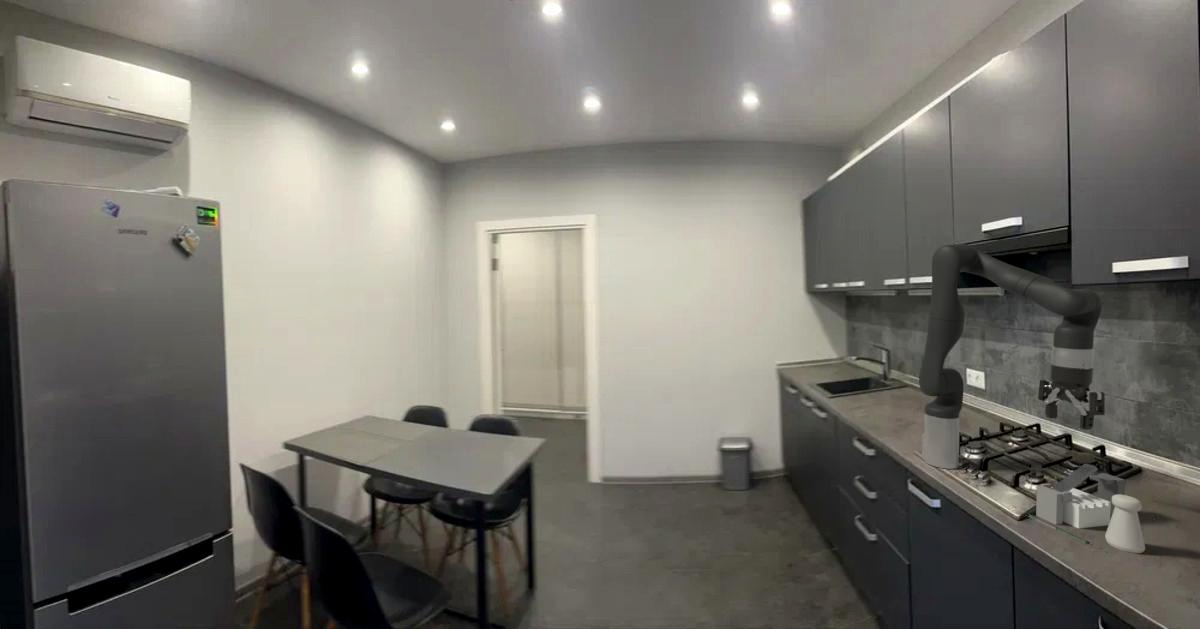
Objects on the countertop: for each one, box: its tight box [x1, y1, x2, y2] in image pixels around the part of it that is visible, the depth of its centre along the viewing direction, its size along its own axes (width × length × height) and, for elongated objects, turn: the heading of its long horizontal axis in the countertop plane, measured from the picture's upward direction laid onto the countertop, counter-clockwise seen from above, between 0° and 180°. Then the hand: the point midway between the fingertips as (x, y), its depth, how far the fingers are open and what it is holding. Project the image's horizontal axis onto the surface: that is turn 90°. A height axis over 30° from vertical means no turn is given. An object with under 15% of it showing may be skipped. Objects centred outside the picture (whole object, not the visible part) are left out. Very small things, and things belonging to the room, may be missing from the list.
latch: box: [1091, 472, 1126, 516], centre depth 110 cm, size 4×5×10 cm
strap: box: [1048, 463, 1098, 493], centre depth 108 cm, size 3×13×1 cm
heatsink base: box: [1012, 483, 1111, 545], centre depth 109 cm, size 16×21×10 cm
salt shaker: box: [1104, 494, 1146, 554], centre depth 96 cm, size 6×6×13 cm
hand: (1068, 423), depth 113 cm, fingers open, 8 cm apart
